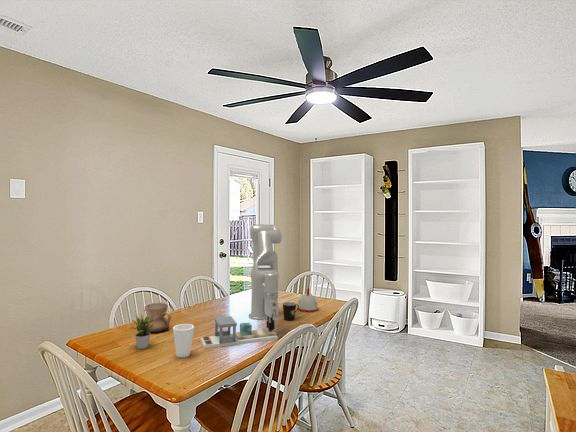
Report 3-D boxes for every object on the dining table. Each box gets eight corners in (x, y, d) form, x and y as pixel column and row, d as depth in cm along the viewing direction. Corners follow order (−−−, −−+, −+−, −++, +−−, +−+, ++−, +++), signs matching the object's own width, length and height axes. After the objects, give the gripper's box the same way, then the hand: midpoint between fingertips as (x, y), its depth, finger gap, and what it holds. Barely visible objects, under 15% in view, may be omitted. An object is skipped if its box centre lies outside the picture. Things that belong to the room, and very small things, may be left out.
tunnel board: (269, 331, 198) (270, 312, 197) (277, 339, 186) (278, 318, 186) (200, 339, 182) (200, 319, 182) (204, 348, 171) (205, 326, 171)
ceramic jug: (134, 331, 193) (134, 306, 192) (152, 323, 206) (153, 300, 206) (160, 337, 187) (161, 310, 186) (177, 328, 200) (178, 303, 200)
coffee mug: (284, 322, 216) (284, 305, 216) (280, 317, 224) (281, 302, 224) (302, 320, 219) (302, 305, 219) (298, 316, 228) (298, 301, 228)
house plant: (157, 352, 166) (158, 317, 166) (125, 354, 162) (126, 319, 162) (159, 341, 179) (160, 309, 179) (130, 343, 175) (131, 311, 175)
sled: (271, 330, 195) (271, 315, 195) (276, 334, 188) (276, 319, 188) (234, 334, 187) (234, 319, 187) (238, 339, 180) (238, 323, 180)
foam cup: (177, 350, 169) (178, 323, 168) (196, 351, 168) (197, 324, 167) (169, 358, 159) (169, 329, 159) (188, 359, 158) (189, 330, 158)
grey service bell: (318, 308, 251) (319, 287, 251) (316, 313, 237) (317, 291, 237) (299, 306, 253) (299, 286, 253) (296, 311, 240) (297, 290, 240)
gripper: (283, 298, 185) (282, 332, 185) (272, 291, 200) (271, 323, 200) (269, 299, 182) (268, 334, 182) (260, 292, 197) (259, 325, 197)
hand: (270, 328), depth 191 cm, fingers closed on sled, 2 cm apart
